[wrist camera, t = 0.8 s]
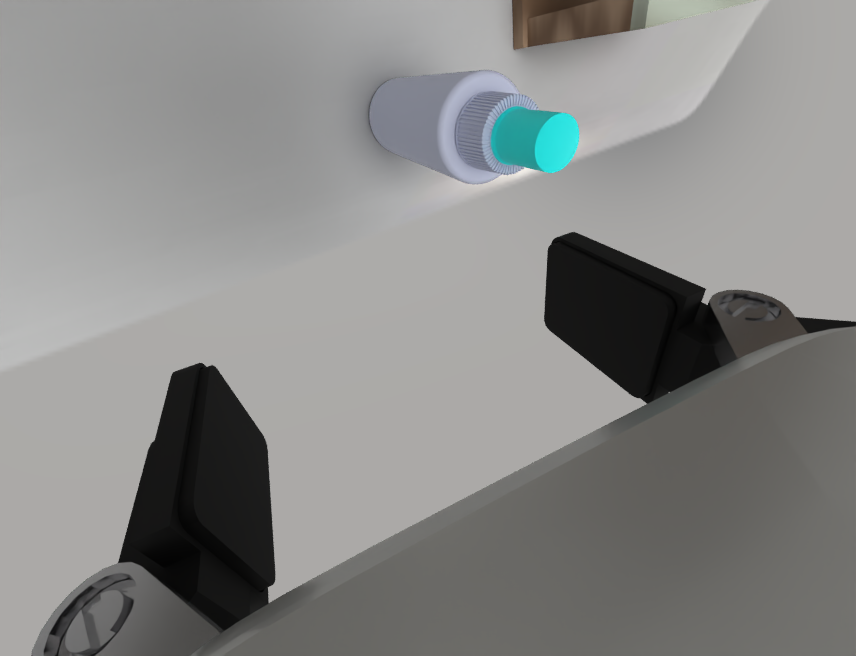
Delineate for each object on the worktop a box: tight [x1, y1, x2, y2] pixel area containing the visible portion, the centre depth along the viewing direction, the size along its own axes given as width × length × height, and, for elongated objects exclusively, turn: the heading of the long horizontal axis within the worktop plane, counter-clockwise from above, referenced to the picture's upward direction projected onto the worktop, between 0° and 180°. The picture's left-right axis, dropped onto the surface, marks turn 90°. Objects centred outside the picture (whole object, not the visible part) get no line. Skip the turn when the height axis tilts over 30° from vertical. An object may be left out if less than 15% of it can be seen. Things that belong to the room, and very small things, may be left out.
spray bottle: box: [369, 70, 579, 184], centre depth 25 cm, size 6×6×22 cm
